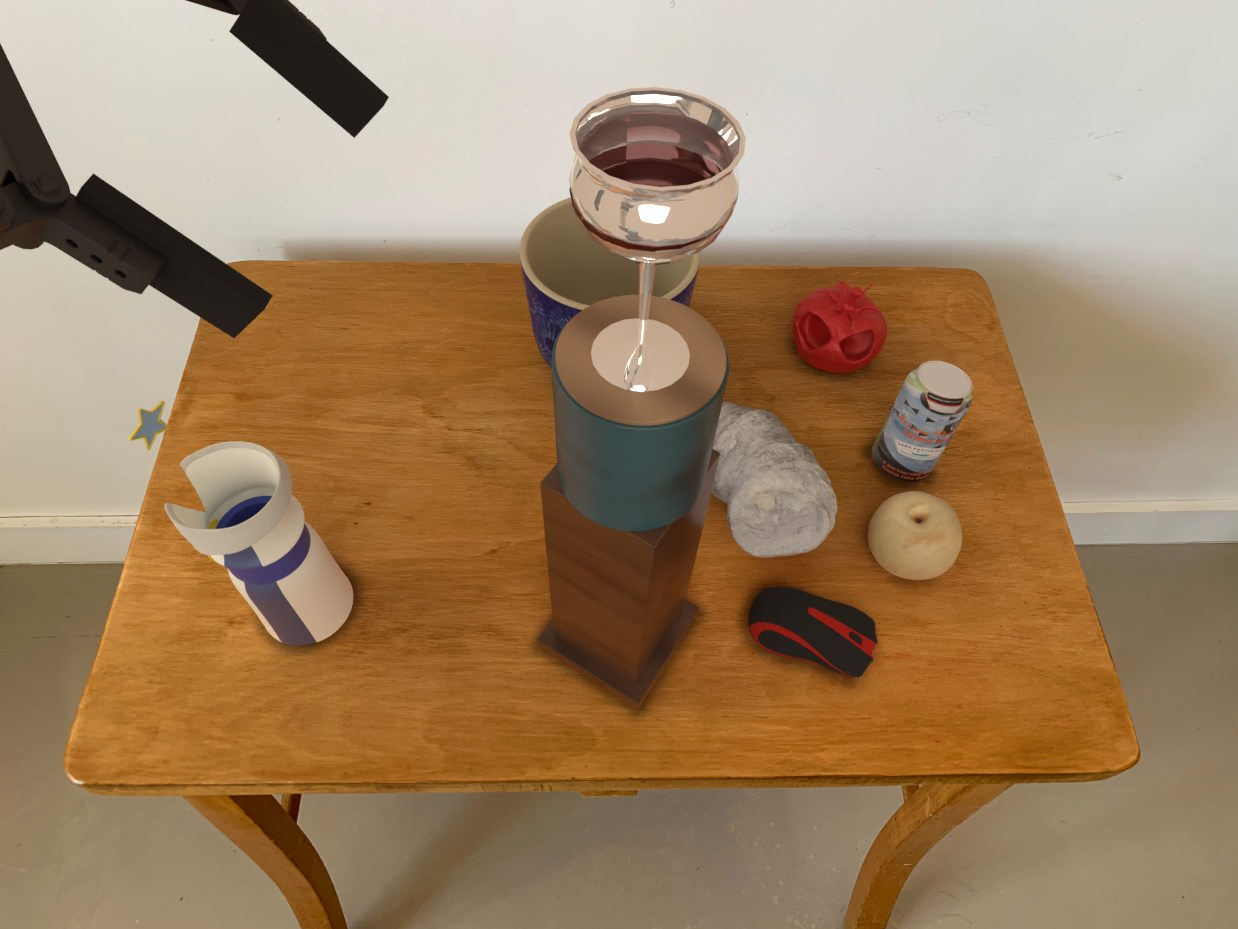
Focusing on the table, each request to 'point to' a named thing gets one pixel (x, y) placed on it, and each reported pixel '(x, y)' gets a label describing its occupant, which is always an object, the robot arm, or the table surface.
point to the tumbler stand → (627, 500)
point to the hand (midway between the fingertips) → (320, 207)
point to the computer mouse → (813, 630)
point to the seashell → (770, 485)
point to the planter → (583, 273)
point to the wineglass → (652, 208)
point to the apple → (915, 535)
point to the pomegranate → (838, 328)
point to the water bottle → (259, 536)
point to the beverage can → (922, 421)
